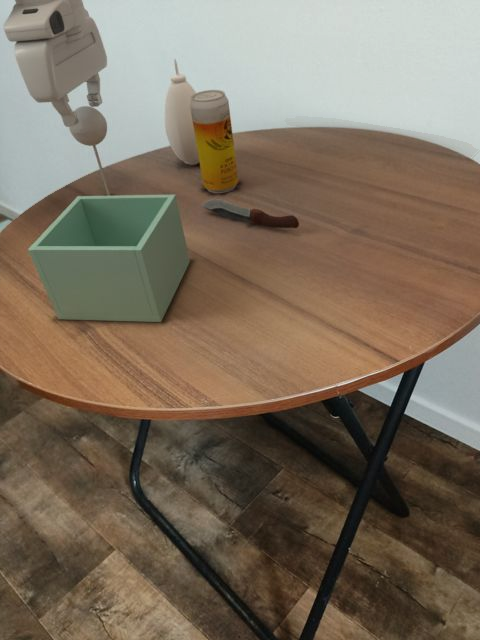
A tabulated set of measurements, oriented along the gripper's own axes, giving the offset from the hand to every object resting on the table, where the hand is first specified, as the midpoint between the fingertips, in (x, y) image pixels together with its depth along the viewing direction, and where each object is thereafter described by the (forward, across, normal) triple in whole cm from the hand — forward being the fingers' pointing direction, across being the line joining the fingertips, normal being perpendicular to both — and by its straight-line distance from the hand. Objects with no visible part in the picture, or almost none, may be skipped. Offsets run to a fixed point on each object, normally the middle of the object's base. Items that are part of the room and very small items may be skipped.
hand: (84, 114), depth 83 cm
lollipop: (+14, 0, 0) cm, 14 cm away
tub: (+14, +28, +14) cm, 34 cm away
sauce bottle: (+14, -14, +12) cm, 23 cm away
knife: (+14, +10, +27) cm, 32 cm away
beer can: (+14, -3, +20) cm, 24 cm away
